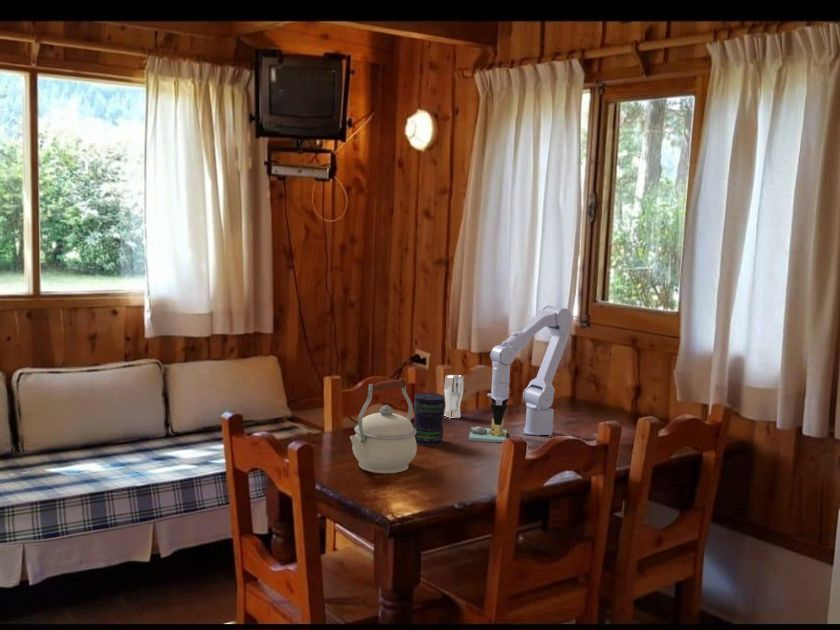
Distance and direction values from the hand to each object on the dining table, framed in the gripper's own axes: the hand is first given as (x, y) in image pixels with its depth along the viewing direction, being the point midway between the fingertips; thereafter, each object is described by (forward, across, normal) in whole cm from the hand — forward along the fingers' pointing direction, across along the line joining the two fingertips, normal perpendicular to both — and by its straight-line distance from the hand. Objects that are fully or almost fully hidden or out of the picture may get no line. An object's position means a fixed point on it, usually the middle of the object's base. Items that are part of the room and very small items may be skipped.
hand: (498, 421), depth 275 cm
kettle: (+5, +45, -32) cm, 56 cm away
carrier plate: (+5, 0, -3) cm, 6 cm away
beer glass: (+5, -24, -17) cm, 30 cm away
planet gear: (+4, 0, 0) cm, 4 cm away
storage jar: (+5, +13, -22) cm, 26 cm away
